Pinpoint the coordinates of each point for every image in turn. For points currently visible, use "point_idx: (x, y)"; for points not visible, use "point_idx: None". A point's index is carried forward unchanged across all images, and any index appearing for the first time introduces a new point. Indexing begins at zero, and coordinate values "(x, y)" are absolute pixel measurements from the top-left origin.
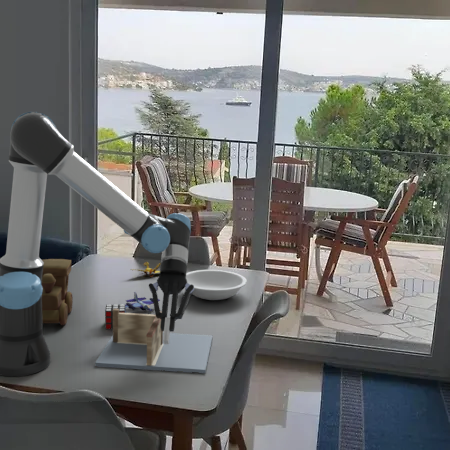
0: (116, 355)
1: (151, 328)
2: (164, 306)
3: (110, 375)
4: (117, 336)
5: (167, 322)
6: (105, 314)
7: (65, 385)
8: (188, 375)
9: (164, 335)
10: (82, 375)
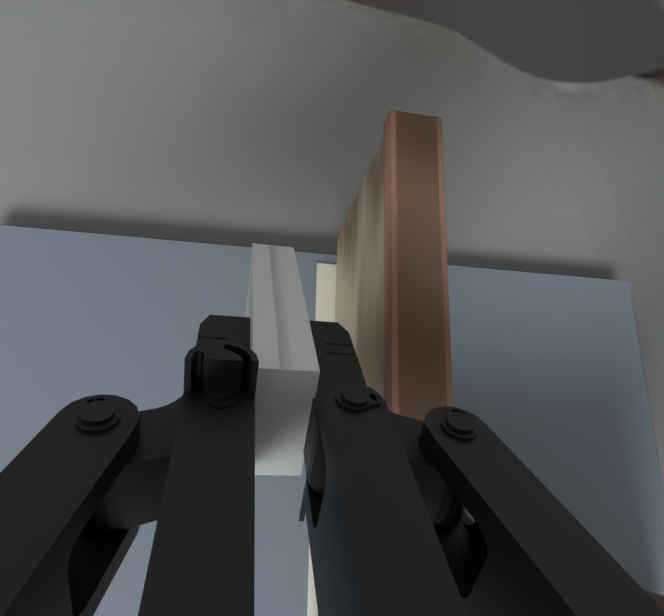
0: (561, 380)
1: (429, 253)
2: (390, 525)
3: (513, 199)
4: (660, 607)
5: (278, 332)
6: None
7: (649, 115)
8: (111, 208)
9: (287, 263)
10: (627, 196)
